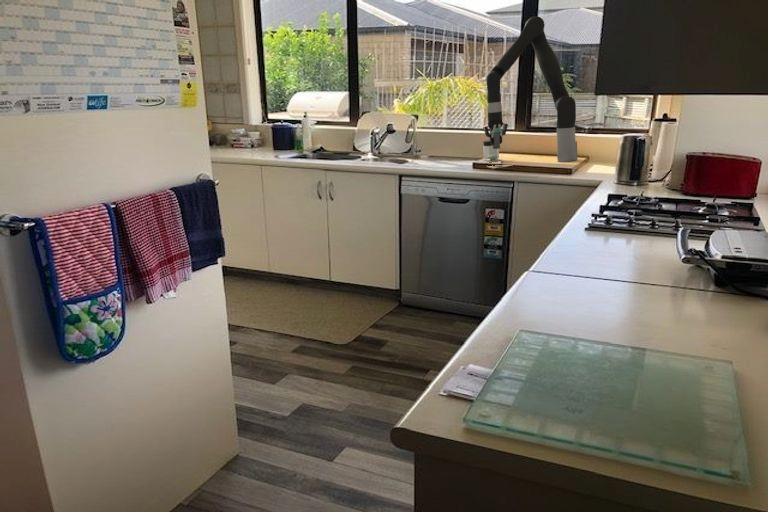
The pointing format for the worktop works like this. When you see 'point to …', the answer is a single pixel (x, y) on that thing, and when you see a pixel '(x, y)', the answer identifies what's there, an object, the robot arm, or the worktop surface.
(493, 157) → the button
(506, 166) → the paper
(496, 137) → the marker
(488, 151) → the jar
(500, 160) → the button base
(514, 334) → the worktop surface
